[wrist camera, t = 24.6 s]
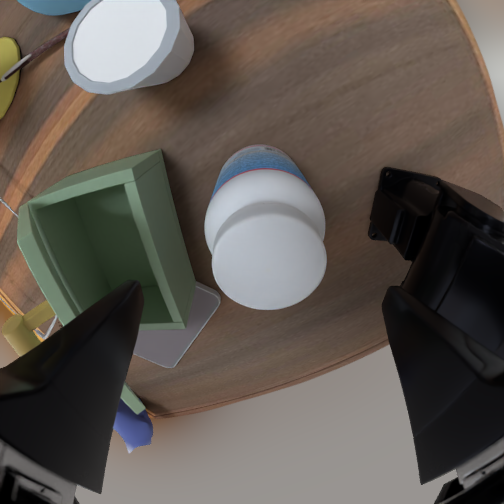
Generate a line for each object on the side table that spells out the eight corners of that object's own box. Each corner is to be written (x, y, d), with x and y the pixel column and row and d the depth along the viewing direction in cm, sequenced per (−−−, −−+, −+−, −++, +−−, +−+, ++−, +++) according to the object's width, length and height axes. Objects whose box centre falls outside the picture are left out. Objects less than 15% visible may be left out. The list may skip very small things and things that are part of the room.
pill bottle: (202, 176, 20) (160, 256, 10) (268, 127, 18) (290, 159, 9) (251, 232, 23) (253, 340, 13) (314, 190, 21) (366, 277, 11)
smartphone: (119, 347, 30) (152, 264, 24) (122, 342, 31) (154, 258, 24) (172, 370, 32) (224, 298, 26) (173, 364, 33) (225, 292, 26)
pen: (3, 84, 13) (-3, 85, 12) (1, 78, 12) (-5, 79, 11) (100, 20, 13) (95, 18, 12) (98, 13, 12) (94, 11, 11)
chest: (161, 148, 19) (131, 167, 14) (196, 283, 25) (186, 329, 20) (66, 176, 19) (26, 202, 14) (111, 290, 26) (90, 330, 21)
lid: (32, 231, 8) (-46, 285, 5) (146, 408, 14) (98, 443, 12) (27, 202, 14) (-19, 230, 12) (91, 331, 21) (56, 355, 18)
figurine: (137, 386, 46) (107, 411, 42) (108, 362, 38) (73, 391, 34) (178, 433, 39) (145, 461, 35) (152, 420, 31) (111, 453, 27)
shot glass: (223, 51, 15) (209, 27, 9) (150, 111, 17) (105, 121, 11) (166, -4, 12) (132, -38, 6) (100, 57, 14) (45, 50, 8)
